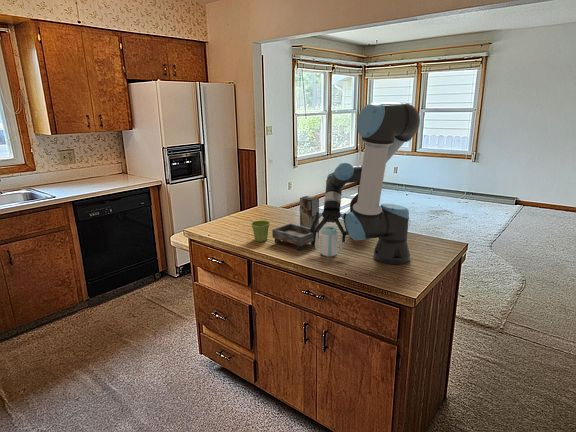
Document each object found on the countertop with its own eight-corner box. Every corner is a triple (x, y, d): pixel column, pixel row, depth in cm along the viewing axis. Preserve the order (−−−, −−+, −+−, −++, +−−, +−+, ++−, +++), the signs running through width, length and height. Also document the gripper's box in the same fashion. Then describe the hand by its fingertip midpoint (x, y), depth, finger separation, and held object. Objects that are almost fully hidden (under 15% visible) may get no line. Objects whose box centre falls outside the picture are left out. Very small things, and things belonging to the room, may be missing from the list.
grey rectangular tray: (318, 244, 179) (318, 230, 177) (301, 252, 170) (301, 237, 168) (290, 236, 191) (290, 223, 189) (272, 243, 181) (272, 229, 179)
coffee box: (319, 226, 205) (319, 198, 201) (312, 229, 201) (312, 200, 196) (306, 223, 211) (306, 195, 207) (299, 226, 207) (299, 197, 202)
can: (320, 251, 170) (320, 226, 167) (336, 251, 170) (336, 226, 167) (321, 257, 164) (321, 231, 160) (337, 257, 163) (338, 231, 160)
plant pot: (267, 243, 181) (267, 226, 179) (249, 242, 183) (248, 225, 181) (272, 237, 190) (272, 220, 188) (254, 236, 192) (253, 220, 189)
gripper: (357, 208, 174) (354, 252, 164) (309, 206, 179) (303, 249, 168) (357, 200, 168) (354, 245, 157) (307, 198, 172) (301, 242, 162)
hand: (328, 247), depth 163 cm, fingers open, 10 cm apart
